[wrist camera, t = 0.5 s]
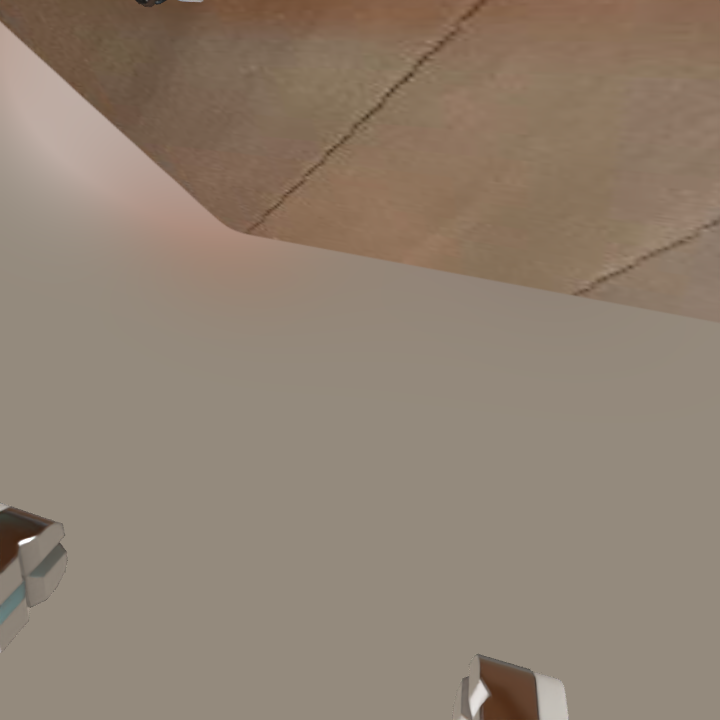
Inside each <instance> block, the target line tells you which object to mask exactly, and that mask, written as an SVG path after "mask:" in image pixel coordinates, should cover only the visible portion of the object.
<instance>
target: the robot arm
mask: <svg viewBox="0 0 720 720" xmlns="http://www.w3.org/2000/svg"><path fill="white" fill-rule="evenodd" d="M64 536H65V533H64V527H63V524H62V523H59V522H56V521H53V520H50V519H47V518H44V517H41V516H38V515H35V514H32V513H29V512H26V511H23V510H20V509H17V508H15V507H12V506H9V505H6V504H3V503H0V653H1V652H3V650H4V649H5V648H6V647H7V646H8V645H9V643H10V642H11V641H12V640H13V639H14V638H15V636H16V635H17V634H18V633H19V632H20V631H21V629H22V628H23V627H24V626H25V625H26V624H27V622H28V621H29V616H30V608H31V607H33V606H35V605H37V604H39V603H41V602H43V601H46V600H47V599H48V598H49V596H50V595H51V594H52V593H53V592H54V590H55V589H56V588H57V586H58V584H59V582H60V581H61V579H62V577H63V575H64V573H65V570H66V565H67V561H68V560H67V552H66V550H65V549H64V548H63V546H62V545H61V544H60V543H59V542H60V540H61V539H62V538H63V537H64ZM452 720H569V717H568V710H567V702H566V695H565V688H564V686H563V684H562V682H561V680H559V679H557V678H554V677H550V676H547V675H543V674H540V673H537V672H533V671H531V670H530V669H527V668H523V667H520V666H517V665H514V664H510V663H507V662H503V661H500V660H496V659H493V658H490V657H486V656H483V655H480V654H476V655H475V656H474V657H473V659H472V660H471V662H470V664H469V676H468V677H465V678H463V679H462V681H461V683H460V685H459V688H458V690H457V694H456V698H455V702H454V706H453V714H452Z"/></svg>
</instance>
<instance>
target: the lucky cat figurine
mask: <svg viewBox="0 0 720 720" xmlns="http://www.w3.org/2000/svg"><path fill="white" fill-rule="evenodd" d="M136 1H137V2H138V4H142V5H143V6H145V7H152V6H153V5H154V4H156V5H158V4H161V3H163V2H164V1H166V0H136ZM179 1H185V2H202V1H203V0H179Z"/></svg>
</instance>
